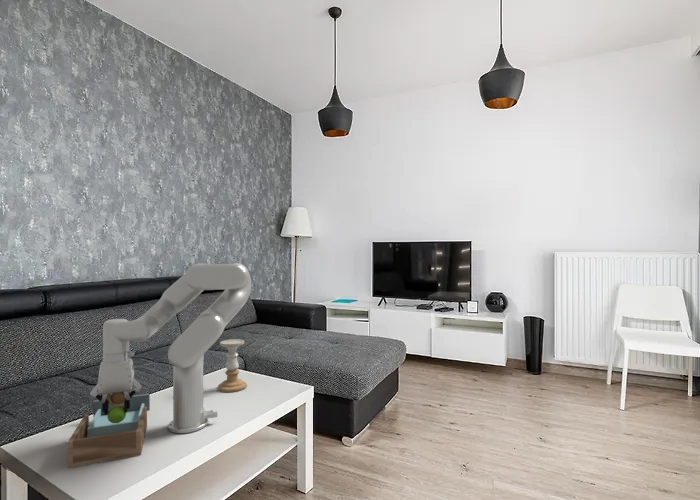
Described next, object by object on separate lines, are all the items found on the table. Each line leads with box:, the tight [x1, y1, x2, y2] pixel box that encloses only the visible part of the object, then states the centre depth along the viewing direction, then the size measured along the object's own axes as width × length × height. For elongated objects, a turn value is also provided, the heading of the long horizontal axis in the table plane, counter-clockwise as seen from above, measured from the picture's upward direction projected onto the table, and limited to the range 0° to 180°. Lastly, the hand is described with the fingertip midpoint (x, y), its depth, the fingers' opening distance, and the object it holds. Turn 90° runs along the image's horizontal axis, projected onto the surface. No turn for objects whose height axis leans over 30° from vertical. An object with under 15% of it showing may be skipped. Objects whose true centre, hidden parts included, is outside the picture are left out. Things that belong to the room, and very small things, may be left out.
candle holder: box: [217, 338, 248, 393], centre depth 175 cm, size 12×12×20 cm
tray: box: [87, 393, 151, 438], centre depth 136 cm, size 19×18×6 cm
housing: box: [67, 407, 148, 469], centre depth 123 cm, size 20×18×7 cm
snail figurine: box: [107, 392, 126, 423], centre depth 132 cm, size 5×6×12 cm
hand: (116, 411), depth 132 cm, fingers closed on snail figurine, 5 cm apart
